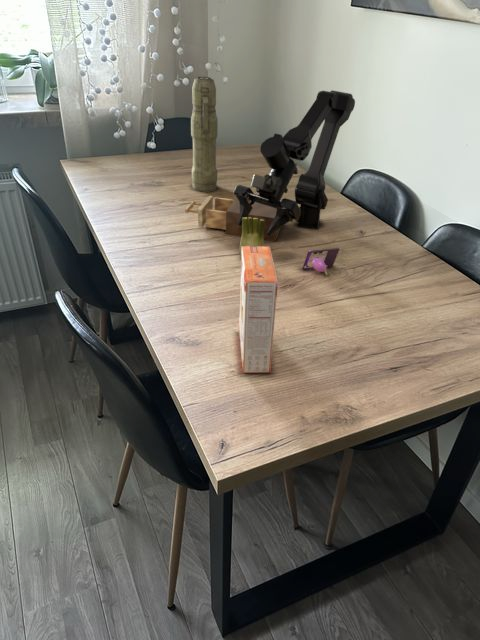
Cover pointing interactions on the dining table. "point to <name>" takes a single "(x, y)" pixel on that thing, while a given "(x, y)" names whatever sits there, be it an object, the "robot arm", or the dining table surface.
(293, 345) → the dining table surface
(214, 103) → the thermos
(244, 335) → the cracker box
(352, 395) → the dining table surface
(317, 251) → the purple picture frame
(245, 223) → the fennel bulb
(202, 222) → the drawer
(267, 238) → the cabinet
